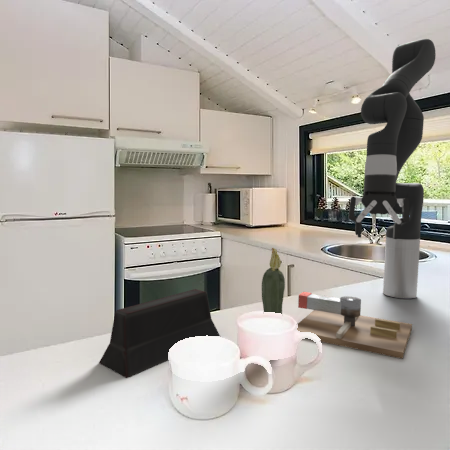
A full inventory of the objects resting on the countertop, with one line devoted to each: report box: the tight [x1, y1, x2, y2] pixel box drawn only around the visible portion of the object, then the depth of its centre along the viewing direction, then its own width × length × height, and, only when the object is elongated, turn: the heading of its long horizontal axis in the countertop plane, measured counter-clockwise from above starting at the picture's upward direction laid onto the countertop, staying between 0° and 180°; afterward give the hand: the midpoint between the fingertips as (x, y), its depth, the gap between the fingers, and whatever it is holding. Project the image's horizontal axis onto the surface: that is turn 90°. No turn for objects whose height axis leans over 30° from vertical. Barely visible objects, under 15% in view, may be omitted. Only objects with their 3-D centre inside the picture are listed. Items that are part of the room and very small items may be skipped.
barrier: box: [98, 288, 221, 379], centre depth 75 cm, size 24×9×10 cm, turn 140°
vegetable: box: [261, 247, 286, 315], centre depth 74 cm, size 4×4×20 cm
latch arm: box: [297, 291, 362, 317], centre depth 89 cm, size 14×4×3 cm, turn 60°
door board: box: [297, 310, 413, 360], centre depth 86 cm, size 18×22×3 cm
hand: (376, 238), depth 100 cm, fingers open, 8 cm apart
